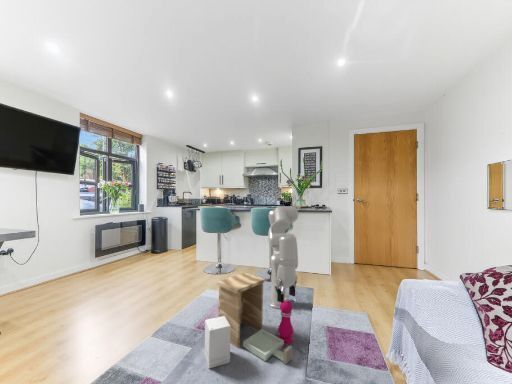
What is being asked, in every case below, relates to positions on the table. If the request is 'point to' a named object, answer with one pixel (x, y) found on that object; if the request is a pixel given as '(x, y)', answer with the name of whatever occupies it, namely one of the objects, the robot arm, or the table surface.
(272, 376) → the table surface
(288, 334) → the pepper mill
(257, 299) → the open wooden crate
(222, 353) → the supplement box
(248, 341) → the tray
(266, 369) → the table surface
